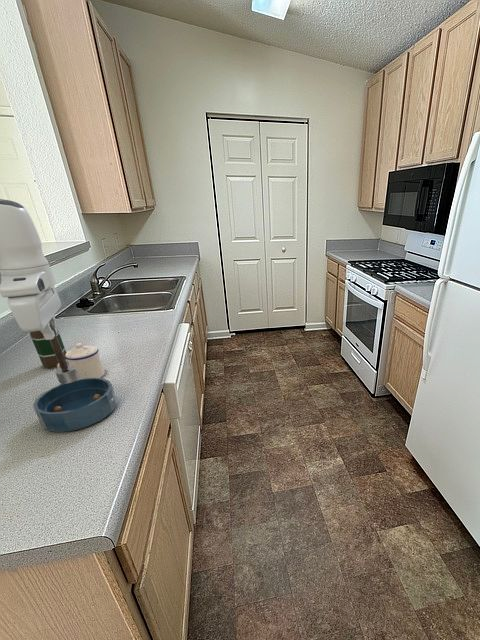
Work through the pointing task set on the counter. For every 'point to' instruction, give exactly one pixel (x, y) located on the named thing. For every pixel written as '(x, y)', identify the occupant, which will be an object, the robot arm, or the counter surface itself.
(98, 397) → the bead
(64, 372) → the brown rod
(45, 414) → the bowl
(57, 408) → the bead
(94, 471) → the counter surface
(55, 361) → the beer bottle
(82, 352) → the teacup with lid
